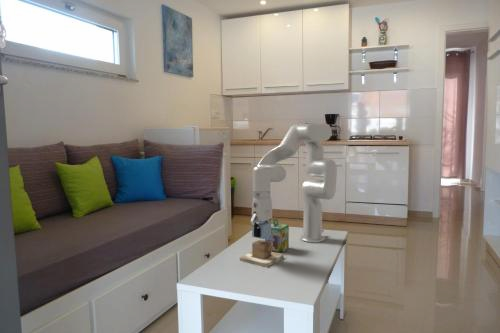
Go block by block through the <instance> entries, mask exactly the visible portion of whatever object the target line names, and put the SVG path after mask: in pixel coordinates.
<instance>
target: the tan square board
mask: <svg viewBox="0 0 500 333" xmlns="http://www.w3.org/2000/svg"><path fill="white" fill-rule="evenodd" d="M282 259H284V254H281V253H279V252H274V251H271V256H269V257H267V258H265V259H262V258H257V257H253V256H252V251H251V252H248V253H246V254H245V255H242V256H240V257H239V261H241V262H244V263H247V264H248V263H249V264H253V265H257V266H261V267H265V268H268V267H269V266H271V265H273V264H275V263H277V262H279V261H280V260H282Z"/></svg>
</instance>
